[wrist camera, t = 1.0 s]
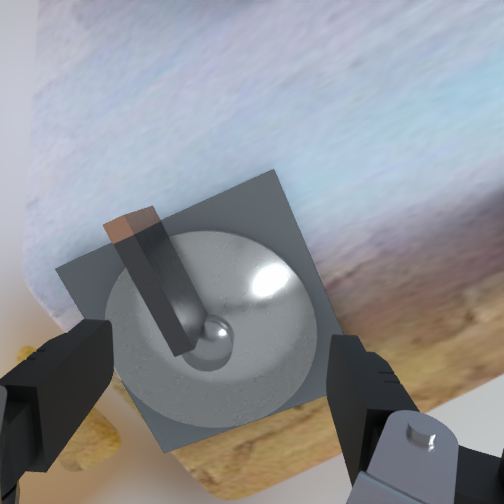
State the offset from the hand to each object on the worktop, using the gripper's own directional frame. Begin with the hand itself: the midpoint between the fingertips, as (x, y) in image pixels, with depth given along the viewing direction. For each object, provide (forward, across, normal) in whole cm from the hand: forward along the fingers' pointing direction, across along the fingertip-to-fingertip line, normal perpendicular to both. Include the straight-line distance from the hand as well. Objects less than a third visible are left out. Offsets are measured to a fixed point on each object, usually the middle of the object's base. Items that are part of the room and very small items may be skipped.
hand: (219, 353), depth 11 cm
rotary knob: (+20, +3, +8) cm, 21 cm away
